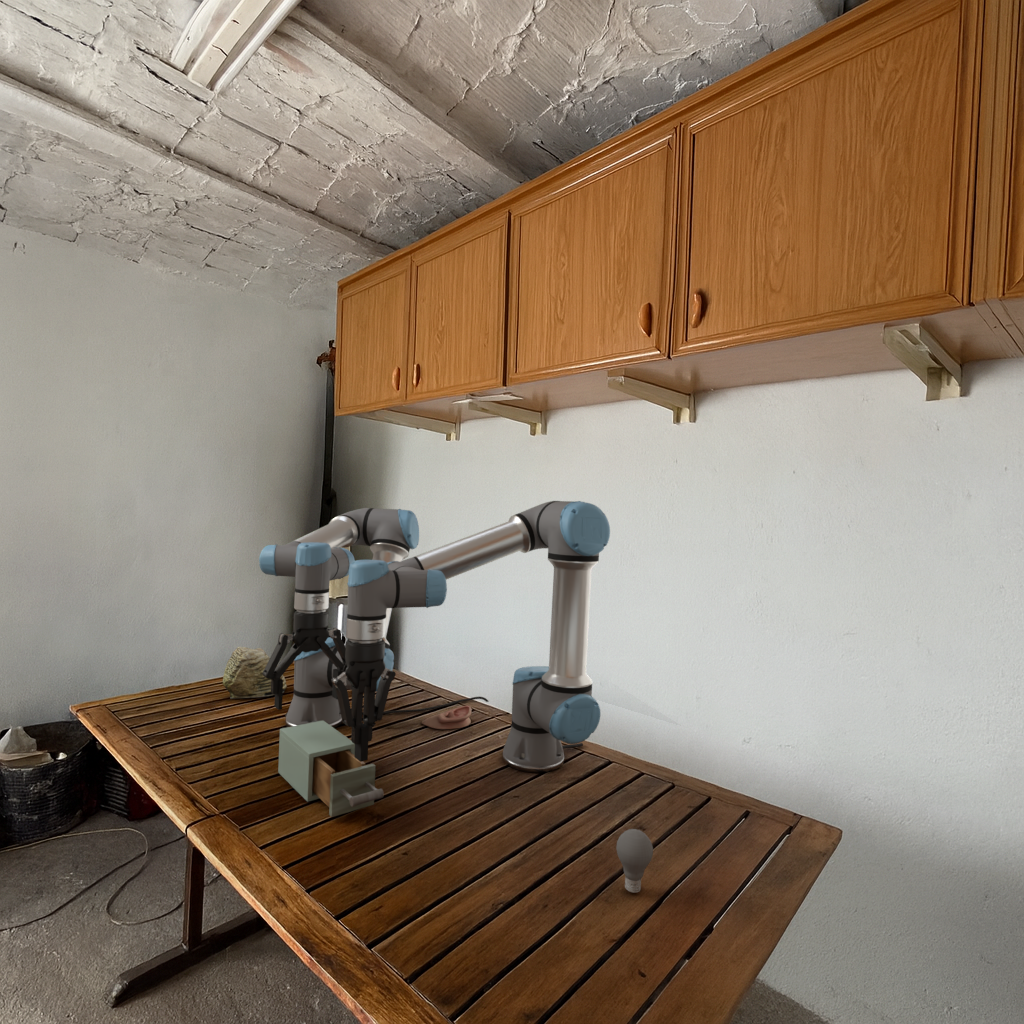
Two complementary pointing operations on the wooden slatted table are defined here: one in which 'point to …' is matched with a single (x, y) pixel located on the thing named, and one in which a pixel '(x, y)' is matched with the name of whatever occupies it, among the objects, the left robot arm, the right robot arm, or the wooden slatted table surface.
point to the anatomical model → (450, 719)
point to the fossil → (248, 674)
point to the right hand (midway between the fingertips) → (360, 758)
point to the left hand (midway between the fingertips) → (307, 702)
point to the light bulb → (634, 857)
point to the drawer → (344, 782)
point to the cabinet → (307, 753)
